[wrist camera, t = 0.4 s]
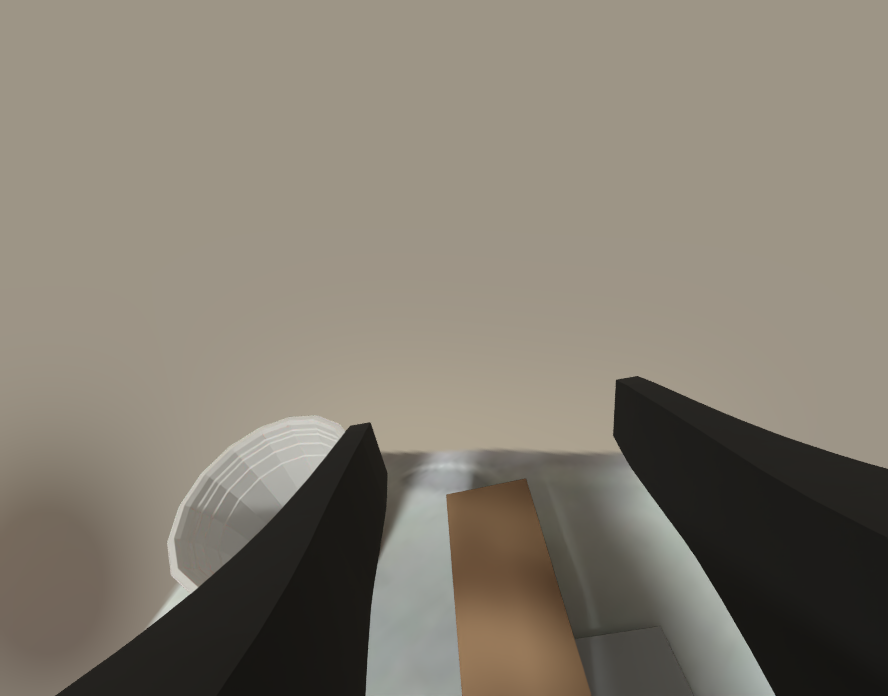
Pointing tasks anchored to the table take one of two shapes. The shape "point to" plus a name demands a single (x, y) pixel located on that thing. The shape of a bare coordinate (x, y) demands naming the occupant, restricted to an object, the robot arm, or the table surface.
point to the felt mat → (632, 664)
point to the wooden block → (508, 598)
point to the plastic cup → (244, 493)
